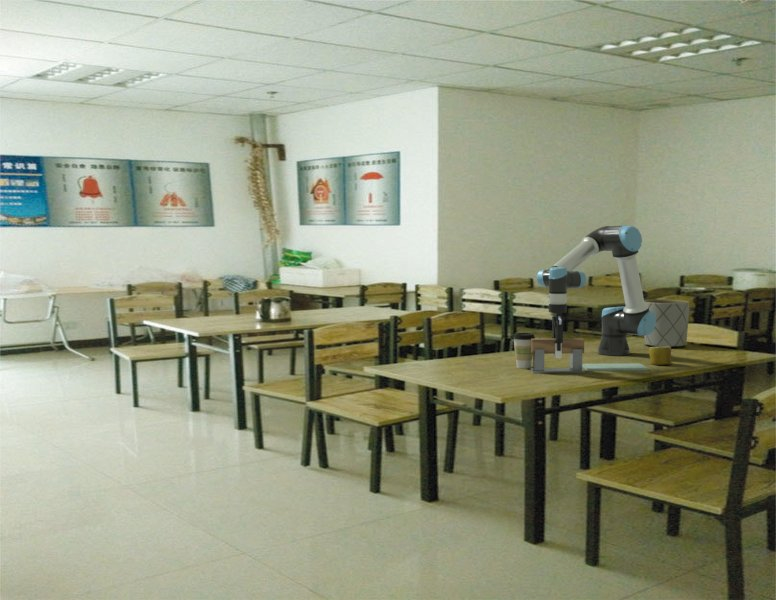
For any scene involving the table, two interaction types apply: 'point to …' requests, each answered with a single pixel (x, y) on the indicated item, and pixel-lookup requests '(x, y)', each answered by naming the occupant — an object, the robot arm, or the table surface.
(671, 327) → the planter
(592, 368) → the mat
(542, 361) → the standards
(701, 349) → the table surface
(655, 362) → the mug
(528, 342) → the coffee cup
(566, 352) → the rail
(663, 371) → the table surface
